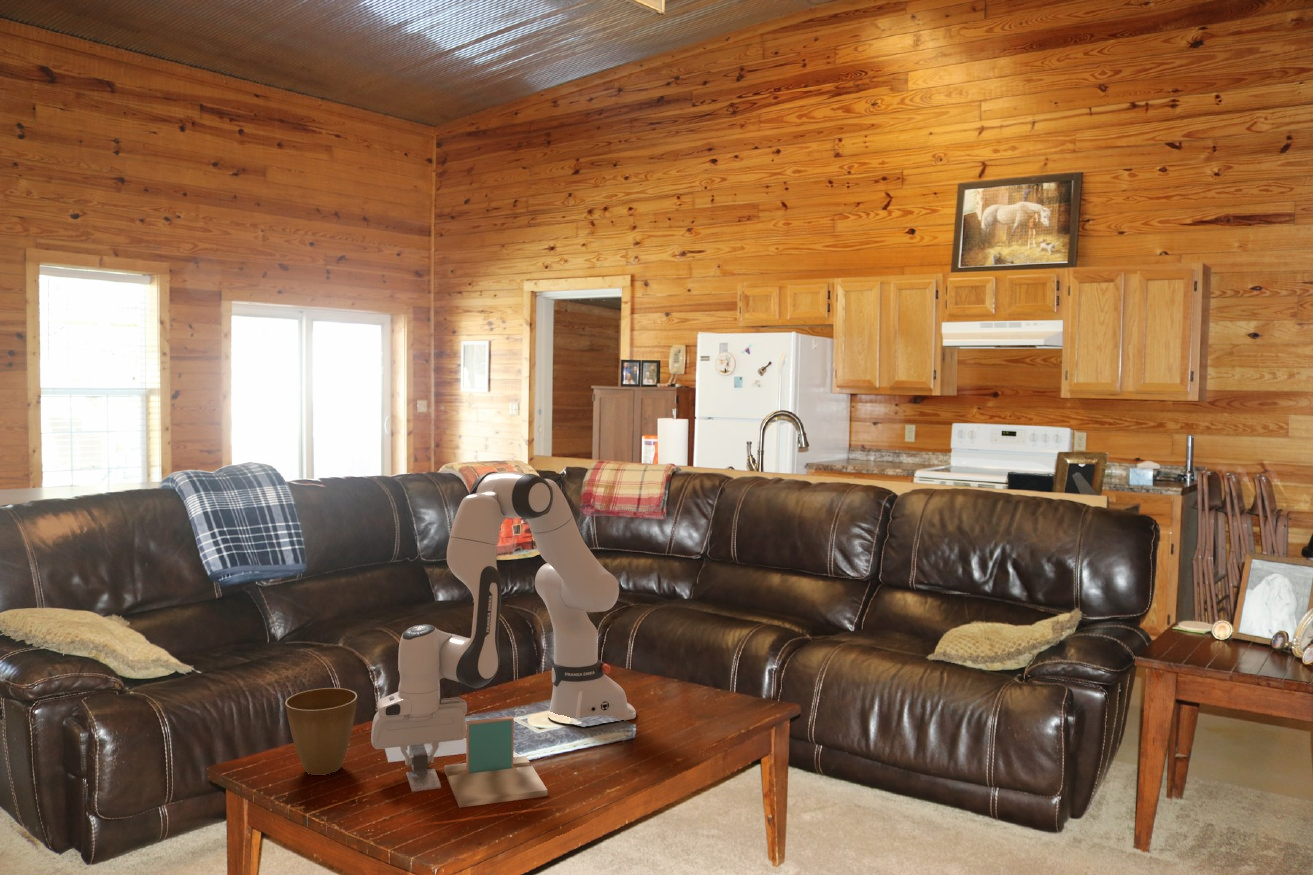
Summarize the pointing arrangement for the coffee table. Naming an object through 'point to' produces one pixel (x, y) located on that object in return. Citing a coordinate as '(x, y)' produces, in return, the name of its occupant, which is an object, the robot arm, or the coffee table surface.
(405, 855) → the coffee table surface
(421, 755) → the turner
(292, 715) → the plant pot
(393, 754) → the tool mat
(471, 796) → the tile stand
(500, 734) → the tile
